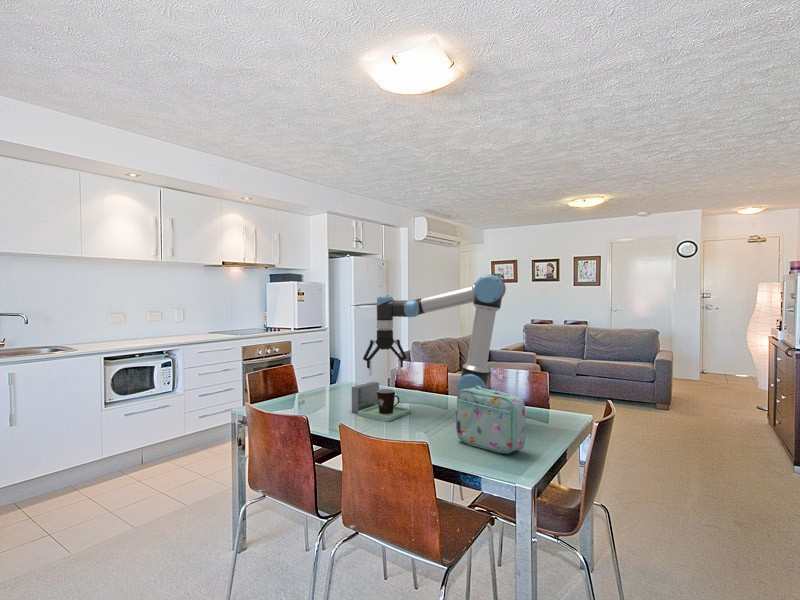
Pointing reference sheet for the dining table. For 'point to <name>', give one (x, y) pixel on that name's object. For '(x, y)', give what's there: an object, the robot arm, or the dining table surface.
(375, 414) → the tray
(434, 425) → the dining table surface
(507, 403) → the lunch box
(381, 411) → the coffee mug
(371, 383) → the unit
